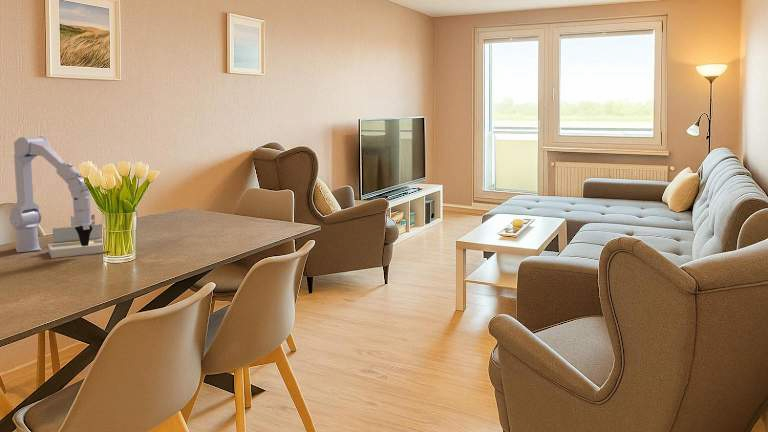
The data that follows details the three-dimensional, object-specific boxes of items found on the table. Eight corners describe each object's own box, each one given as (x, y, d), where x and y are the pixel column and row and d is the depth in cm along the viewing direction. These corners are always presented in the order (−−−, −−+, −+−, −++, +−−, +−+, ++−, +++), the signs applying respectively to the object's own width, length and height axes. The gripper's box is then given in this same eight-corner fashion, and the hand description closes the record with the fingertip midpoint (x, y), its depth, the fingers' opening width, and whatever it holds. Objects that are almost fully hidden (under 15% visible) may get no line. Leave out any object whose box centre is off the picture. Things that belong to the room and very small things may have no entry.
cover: (51, 228, 239) (51, 228, 240) (53, 243, 240) (52, 243, 241) (99, 224, 248) (98, 224, 249) (100, 239, 249) (99, 238, 250)
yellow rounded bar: (67, 243, 243) (68, 251, 243) (68, 243, 240) (69, 251, 240) (92, 241, 248) (93, 248, 248) (94, 240, 245) (94, 248, 245)
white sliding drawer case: (51, 258, 232) (51, 250, 232) (48, 252, 241) (47, 244, 241) (110, 251, 243) (109, 244, 242) (104, 246, 252) (104, 238, 252)
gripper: (97, 211, 229) (99, 248, 232) (90, 205, 241) (93, 240, 244) (76, 213, 226) (78, 250, 228) (70, 207, 237) (72, 242, 240)
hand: (84, 245), depth 235 cm, fingers closed
